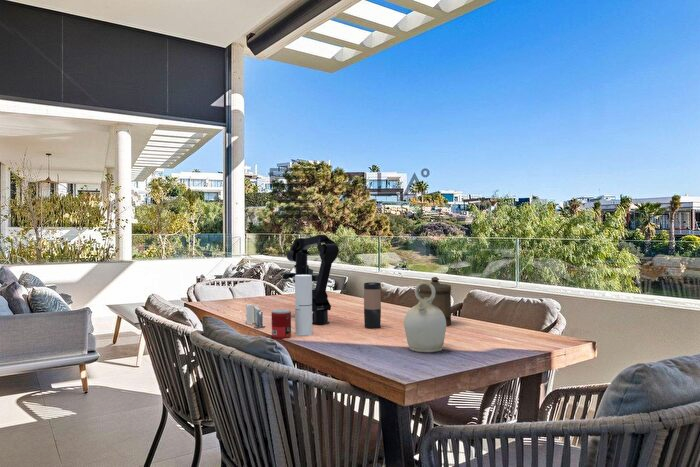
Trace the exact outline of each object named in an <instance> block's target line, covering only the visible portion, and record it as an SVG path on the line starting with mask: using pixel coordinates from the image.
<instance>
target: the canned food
mask: <svg viewBox="0 0 700 467" xmlns="http://www.w3.org/2000/svg"><path fill="white" fill-rule="evenodd" d="M271 336H272V339H275V340H276V339H277V340H279V339H280V340H282V339H283V340H284V339H285V338H286V339H290V338H291V336H292V310H291V309H287V308H281V309H279V308H278V309H272V310H271Z"/></svg>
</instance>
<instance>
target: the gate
mask: <svg viewBox="0 0 700 467" xmlns="http://www.w3.org/2000/svg"><path fill="white" fill-rule="evenodd" d="M261 310H262V309H261V308H259V306H257V305H253V323H255V325H257V312H262V311H261Z"/></svg>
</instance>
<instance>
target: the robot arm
mask: <svg viewBox="0 0 700 467" xmlns="http://www.w3.org/2000/svg"><path fill="white" fill-rule="evenodd" d="M312 246H316V249H317V251H318V252H319V254H318V255H319V258H320V260H321V262H320V266H319V270H318V271H319V272H318V274H315V273H314V270H313V269H311V268H310V265H309V264H308V255H310V252H309V251H308V250H309V249H311V247H312ZM339 251H340V248H339V246H338V245H337V243H336V242H335V241H334V240H332V239H331V238H329V236H328V235H326V234H316V235H314V236H310V237H296V238H294V241H293V242H292V244H291V247H290V250H289V251H288V252H287V254H286V258H287V260H288V261H290V262H293V263H295V264H294V268H295V272H284V273H283V274H282V280H289V279H292V280H291V282H293V283H294V284H295V275H312V282H316V285H315V288H314V289H312V325H321V326H324V325H326V324H329V323H330V321H329V318H328V317H329V315H328V314H329V313H328V312H329V311H331V307H332V304H330V301H329V299H328V298H329V296H328V293H327V286H328V283H329V278H330V275H331V274H330V273H331V269H332V264H333V263H334V262H335V261H336V259H337V258H338V255H339Z"/></svg>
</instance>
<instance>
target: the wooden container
mask: <svg viewBox="0 0 700 467" xmlns="http://www.w3.org/2000/svg"><path fill="white" fill-rule="evenodd" d="M439 281H440V279H439V278H438V276H433V277H431V282H430V283H431V284H432V285H433V286H434V288H435V297H434V299H433V301H432V303H431V304H432V305H434V306H436V307H438V308H439V309H440V310H441V311H442V312H443V314H444V316H445V319H446V327H449V326H451V325H452V302H451V301H452V299H451V298H452V297H451V296H452V295H451V293H452V286H451V285H450V284H448V283H447V284H444V283H440V282H439ZM419 295H420V296H421V297H422V298H426V297H428V298H429V297H430V296H431V289H430V288H429V287H428V286H427V285H423V286H421V287H420V289H419Z"/></svg>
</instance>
